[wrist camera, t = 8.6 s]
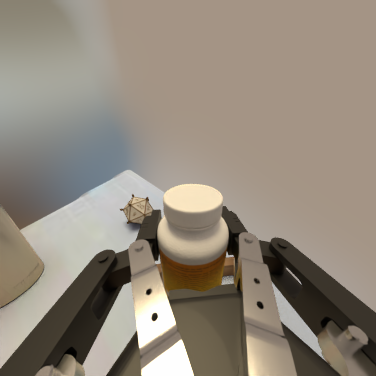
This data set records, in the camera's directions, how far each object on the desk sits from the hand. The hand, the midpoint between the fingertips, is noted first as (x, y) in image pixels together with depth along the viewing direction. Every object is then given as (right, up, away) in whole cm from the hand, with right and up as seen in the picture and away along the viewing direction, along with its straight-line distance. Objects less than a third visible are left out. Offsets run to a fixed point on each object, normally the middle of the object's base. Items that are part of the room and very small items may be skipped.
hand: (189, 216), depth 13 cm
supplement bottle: (0, -7, 0) cm, 7 cm away
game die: (-14, -7, +26) cm, 31 cm away
